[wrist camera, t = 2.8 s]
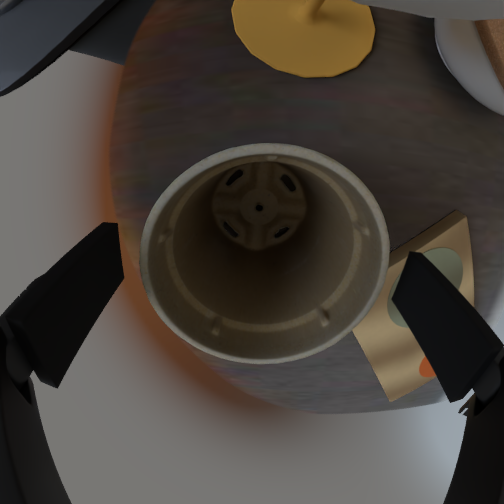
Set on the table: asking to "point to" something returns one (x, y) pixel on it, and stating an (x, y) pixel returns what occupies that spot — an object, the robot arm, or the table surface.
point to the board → (389, 318)
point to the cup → (332, 29)
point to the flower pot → (264, 254)
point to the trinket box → (474, 57)
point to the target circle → (426, 368)
